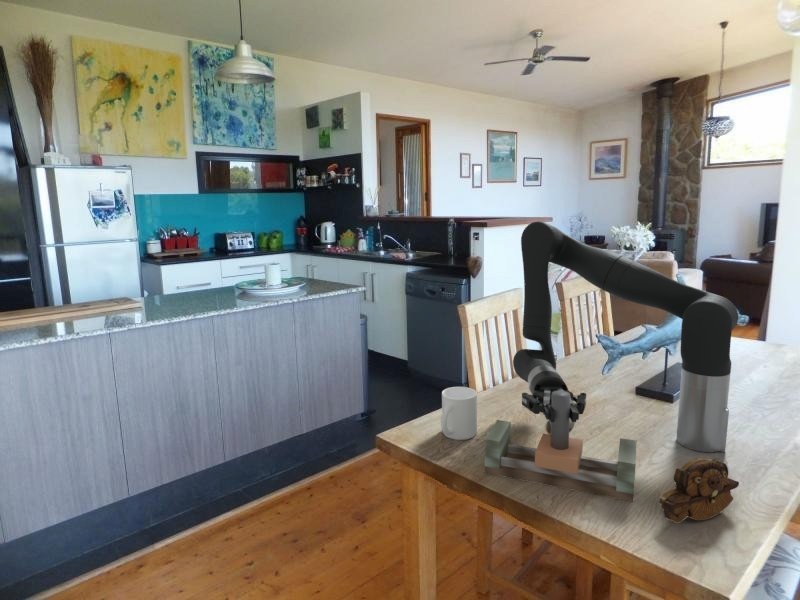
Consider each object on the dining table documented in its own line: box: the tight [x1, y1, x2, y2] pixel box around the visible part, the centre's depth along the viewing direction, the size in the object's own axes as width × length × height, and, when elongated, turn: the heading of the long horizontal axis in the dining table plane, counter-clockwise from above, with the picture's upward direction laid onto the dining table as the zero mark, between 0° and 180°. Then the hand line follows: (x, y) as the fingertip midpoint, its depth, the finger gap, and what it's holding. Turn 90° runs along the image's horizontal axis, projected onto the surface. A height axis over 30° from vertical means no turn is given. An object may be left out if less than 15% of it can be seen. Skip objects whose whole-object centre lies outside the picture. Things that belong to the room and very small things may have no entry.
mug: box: [440, 386, 478, 441], centre depth 124 cm, size 12×8×10 cm
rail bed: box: [484, 419, 637, 502], centre depth 106 cm, size 28×10×8 cm, turn 65°
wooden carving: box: [658, 457, 740, 524], centre depth 90 cm, size 16×5×10 cm, turn 115°
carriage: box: [535, 391, 584, 474], centre depth 105 cm, size 8×9×14 cm
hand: (563, 417), depth 101 cm, fingers closed on carriage, 3 cm apart
